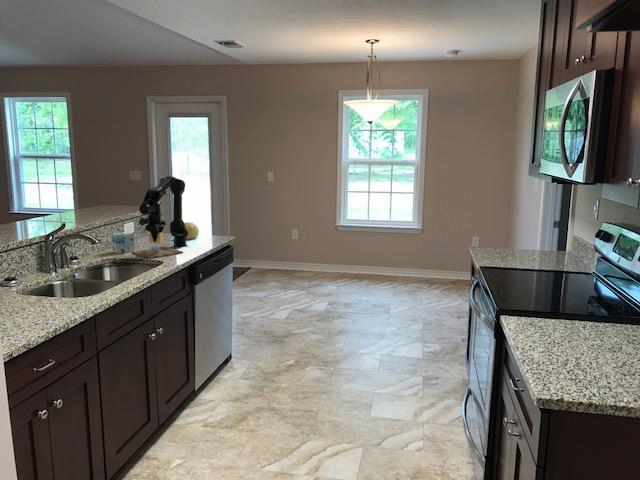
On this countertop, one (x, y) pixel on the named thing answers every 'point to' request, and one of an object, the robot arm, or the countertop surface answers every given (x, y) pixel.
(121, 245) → the light bulb box
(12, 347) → the countertop surface
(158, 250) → the grey metal block
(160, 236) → the collar
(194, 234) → the sculpture
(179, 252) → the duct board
